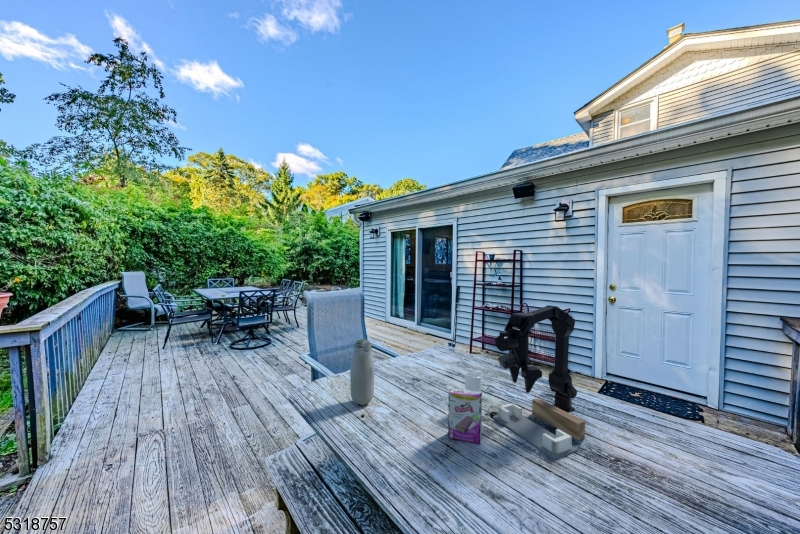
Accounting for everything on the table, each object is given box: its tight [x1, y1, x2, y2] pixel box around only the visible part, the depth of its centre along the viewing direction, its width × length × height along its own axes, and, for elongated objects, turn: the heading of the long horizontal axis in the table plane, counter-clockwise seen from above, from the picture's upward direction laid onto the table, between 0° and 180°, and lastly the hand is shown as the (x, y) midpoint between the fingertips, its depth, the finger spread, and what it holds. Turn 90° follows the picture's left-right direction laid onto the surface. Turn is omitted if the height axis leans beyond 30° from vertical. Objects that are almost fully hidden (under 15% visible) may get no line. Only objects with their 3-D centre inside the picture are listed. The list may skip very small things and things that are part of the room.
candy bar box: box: [447, 387, 483, 445], centre depth 106 cm, size 11×5×16 cm, turn 71°
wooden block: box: [531, 397, 586, 441], centre depth 115 cm, size 4×20×6 cm, turn 23°
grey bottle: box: [349, 338, 375, 406], centre depth 132 cm, size 10×10×28 cm
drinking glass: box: [464, 371, 482, 392], centre depth 126 cm, size 7×7×15 cm
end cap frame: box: [492, 402, 579, 460], centre depth 110 cm, size 11×28×5 cm, turn 24°
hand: (520, 387), depth 116 cm, fingers open, 9 cm apart
